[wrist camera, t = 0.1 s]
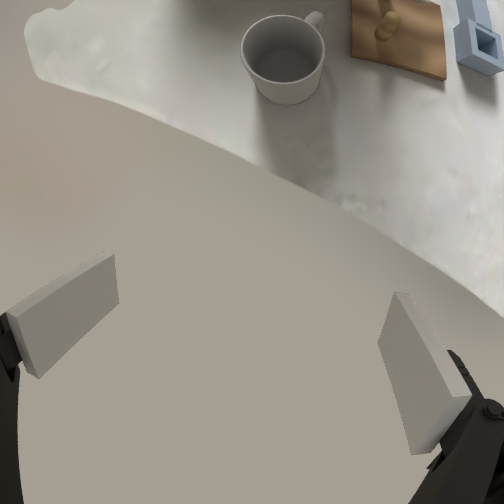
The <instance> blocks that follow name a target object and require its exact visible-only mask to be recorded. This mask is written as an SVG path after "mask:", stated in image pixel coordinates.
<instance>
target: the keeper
mask: <svg viewBox="0 0 504 504" xmlns="http://www.w3.org/2000/svg"><path fill="white" fill-rule="evenodd" d="M383 1H387V2H390V0H383ZM410 1H413V2H416V3H419V4H422V5H425V6H427V5H428V4H429V3H430V1H429V0H410Z"/></svg>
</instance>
